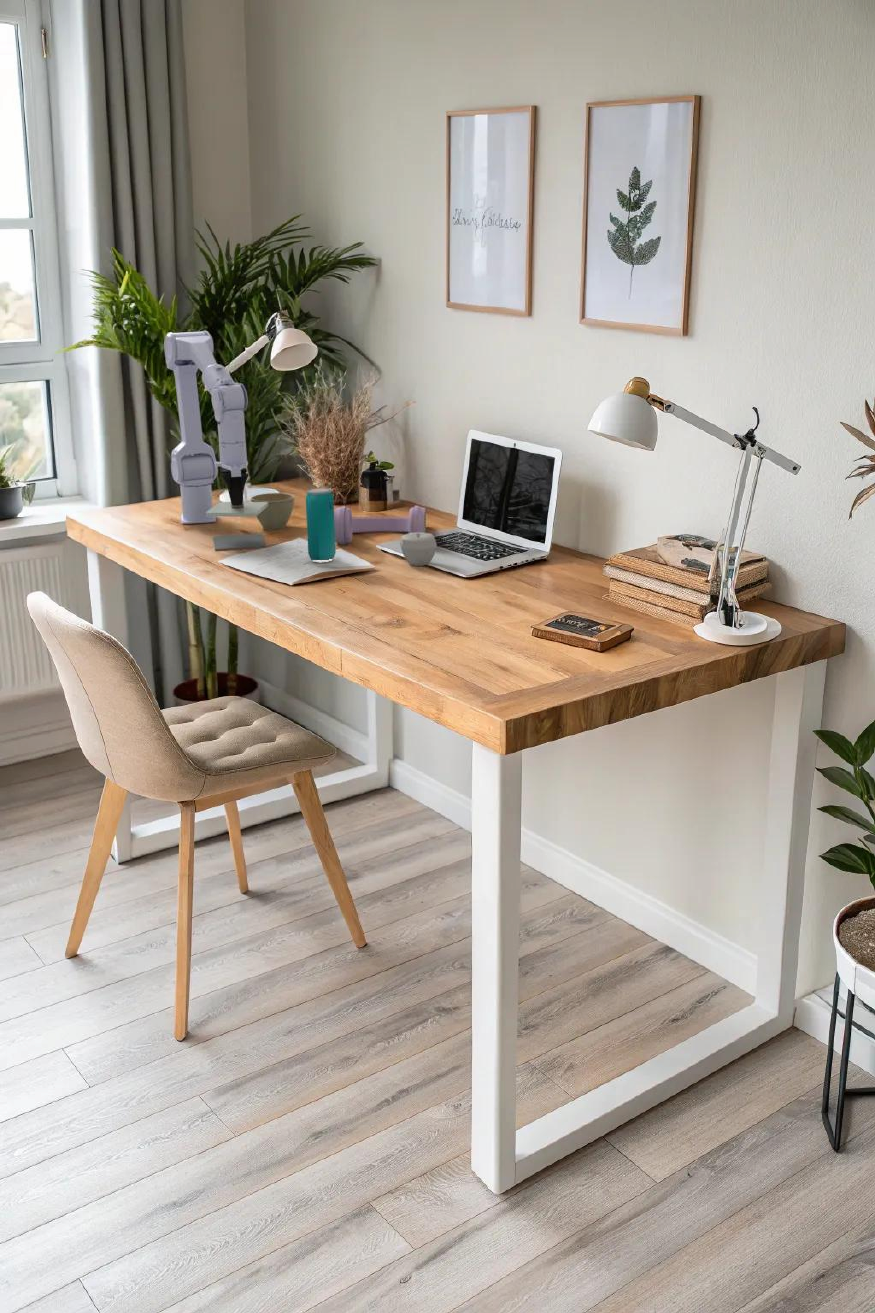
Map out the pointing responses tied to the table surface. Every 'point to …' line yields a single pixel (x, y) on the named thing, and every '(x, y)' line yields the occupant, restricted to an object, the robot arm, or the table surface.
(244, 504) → the lid
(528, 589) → the table surface
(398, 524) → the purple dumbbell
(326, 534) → the beverage can
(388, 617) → the table surface
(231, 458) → the robot arm
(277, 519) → the flower pot
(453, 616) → the table surface
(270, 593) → the table surface
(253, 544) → the mat
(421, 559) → the apple
